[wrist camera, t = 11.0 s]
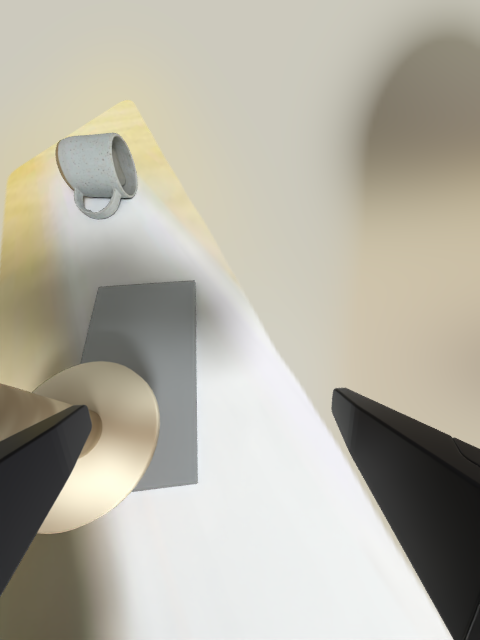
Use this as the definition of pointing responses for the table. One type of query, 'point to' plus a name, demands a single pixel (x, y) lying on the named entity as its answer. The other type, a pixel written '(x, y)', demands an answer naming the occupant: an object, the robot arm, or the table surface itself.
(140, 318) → the slate mat
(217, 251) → the table surface
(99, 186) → the ceramic mug
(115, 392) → the birch lid
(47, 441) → the robot arm
